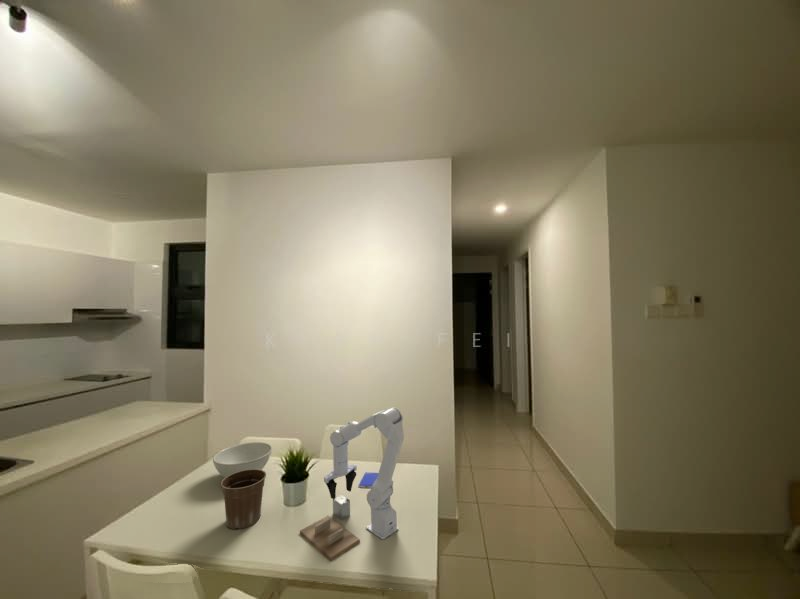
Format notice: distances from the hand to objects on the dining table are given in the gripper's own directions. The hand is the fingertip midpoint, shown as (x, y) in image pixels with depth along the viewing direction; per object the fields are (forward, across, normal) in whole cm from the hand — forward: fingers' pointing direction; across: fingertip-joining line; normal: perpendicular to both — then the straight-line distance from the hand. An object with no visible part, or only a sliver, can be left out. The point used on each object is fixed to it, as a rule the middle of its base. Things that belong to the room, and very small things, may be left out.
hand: (341, 494), depth 131 cm
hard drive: (+9, -25, -12) cm, 29 cm away
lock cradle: (+8, +11, +8) cm, 16 cm away
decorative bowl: (+8, +15, -63) cm, 65 cm away
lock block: (+8, 0, 0) cm, 8 cm away
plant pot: (+8, +28, -26) cm, 39 cm away
